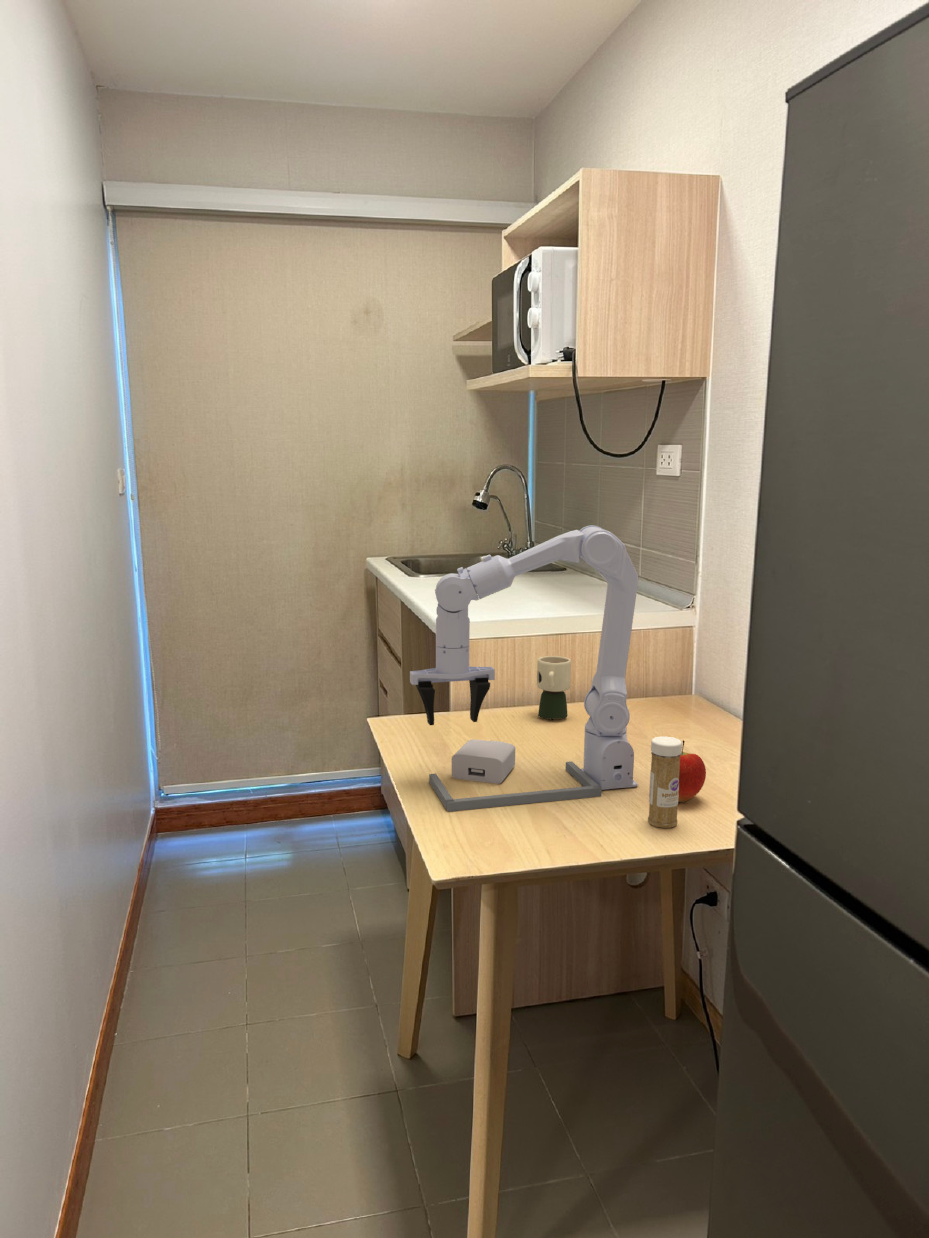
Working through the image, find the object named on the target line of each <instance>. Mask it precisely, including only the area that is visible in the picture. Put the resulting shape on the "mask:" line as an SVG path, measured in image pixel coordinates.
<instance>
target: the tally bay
mask: <svg viewBox="0 0 929 1238" xmlns="http://www.w3.org/2000/svg"><path fill="white" fill-rule="evenodd" d="M581 769H582V768H580V767H579V766H578V765H577V764H575V762H574V761H566V762H565V771H566V772H567V773H568V774H570V776H572V777H573V779H575V780H576V781H577V782H578V783H579V784H580V785H581V786H576V787H565V788H557V789H556V788H555V789H547V790H546V789H545V790H533V791H524V792H514V793H503V794H491V795H483V796H472V797H471V796H470V797H464V798H463V797H462V798H453V797H452V795H451V794H450V793H449V791H448V789H447V788H446V787H445V785H444V783H443V781H442V780H441V778H440V777H439V776H438V774H437V773H436V772H435V773H428V781H429V785H430V786H431V788H432V789H433V791H434V792H435V794H436V795H437V797H438V799H439V800H440V803H442V805H443V807H444V808H445V810H446V811H447V812H457V811H468V810H477V809H486V808H489V809H490V808H496V807H505V806H507V807H508V806H518V805H519V806H520V805H527V804H529V805H530V804H536V803H538V804H539V803H547V802H556V801H557V802H558V801H566V800H569V801H570V800H577V799H588V798H595V797H597V798H598V797H602V791H603V790H602V788H601V787H600V786H599V785H598V784H597V783H596V782H595V781H593V780H592V779H591V778H590V777H589V776H588V775H587V774H586V773H584V772H583V771H582V770H581Z"/></svg>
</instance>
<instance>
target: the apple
mask: <svg viewBox="0 0 929 1238" xmlns="http://www.w3.org/2000/svg"><path fill="white" fill-rule="evenodd" d="M684 745H685V740H684V739H683V740H682V752H681V754H680V767H679V768H680V769H679V797H678V803H681V802H682V803H683V802H686V801H689V800H691V799H693V798H694V797H696V796H697V795H698V794H699V793H700V791H701V790H702V788H703V786H704V785H705V781H706V777H707V776H706V775H707V769H706V765H705V763H704V760H703V759H702V758H701V756H699V755H698V754H696V753H691V752H690V753H689V752H687V751H684Z"/></svg>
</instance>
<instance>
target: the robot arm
mask: <svg viewBox="0 0 929 1238" xmlns="http://www.w3.org/2000/svg"><path fill="white" fill-rule="evenodd" d="M580 559H581V561H584V562H585V563H586V564H588V565H589V566H590V567H592V568H593V569H594V570H596V572H597V573H598V574H599V575H600V576H601V577H602V578H603V579H604V580H605V582H606V583H607V588H606V595H605V602H604V603H605V604H604V610H603V618H602V625H601V634H600V641H599V647H598V648H599V649H598V657H597V664H596V665H597V666H596V672H595V674H594V675H593V677H592V679H591V686H590V689H589V691H588V692H587V693H586V695H585V697H584V701H583V703H584V704H583V706H584V710H585V712H586V713H587V715H588V716H589V718H588V720H587V722H586V723H585V725H584V743H583V745H584V747H583V768H580V769H581V770H582V771H583V772H584V773H586V774H587V775H588V776H589V777H590V778H591V779H592V780H593V781H595V782H596V783H597V784H598V785H599V786H600V787H601V788H602V791H604V790H614V789H623V788H624V789H625V788H633V787H634V788H635V787H638V785H639V784H638V782H637V781H635V780H634V767H635V766H634V763H635V750H634V748H633V746H632V744H631V743H630V742H629V741H628V737H627V736H628V735H627V734H628V733H627V730H628V727H627V726H628V725H629V721H630V710H629V708H628V705H627V699H628V692H627V683H626V673H627V666H628V660H629V652H630V643H631V636H632V630H633V624H634V622H633V621H634V615H635V614H634V613H635V609H636V608H635V606H636V599H637V592H638V584H639V573H638V572H637V570H636V568H635V566H634V564H633V561H632V560H631V557H630V555H629V553H628V551H627V548H626V545H625V543H624V542H622V541H621V540H620V538H619V537H617V536H616V535H615V534H614V533H613V532H611V531H609V530H606V529H604V528H603V527H600V526H598V525H595V524H594V525H586V526H583V527H582V528H581V529H580V530H579V529H575V530H571V531H567V532H565V533H562V534H559V535H557V536H555V537H552V538H550V539H548V540H546V541H544V542H541V543H540V544H537V545H535V546H533V547H530V548H528V549H527V550H524V551H522V552H520V553H518V554H515V555H514V556H511V557H509V558H506V557H503V556H502V555H498V554H497V555H494V556H492V555H491V554H488V555H484V556H483V561H480V562H477V563H476V564H473V565H470V566H468V567H465V568H464V567H463V566H461V567H458V568H457V569H456V570H457V573H454V572H452V573H451V572H450V573H448V574H444V575H443V576H442V577H440V579H439V580H437V583H436V585H435V586H436V587H435V589H434V592H435V599H436V601H437V606H436V615H437V616H436V619H435V667H434V668H433V667H432V668H426V669H422V670H412V671H411V670H410V671H409V683H410V684H411V685H412V686H415V687H416V689H417V692H418V693H419V695H420V698H421V701H422V703H423V707H424V711H425V716H426V721H427V724H428V725H429V726H434V725H435V710H434V708H435V706H434V705H435V694H436V689H434V685H433V683H447V682H449V683H450V682H464V681H465V682H467V681H468V682H469V683H468V684H469V690H470V691H469V692H470V695H469V696H470V704H469V705H470V708H469V718H470V721H472V723H478V719H479V714H480V710H481V707H482V704H483V702H484V700H485V697H486V696H487V695H488V692H489V691H490V688H491V682H490V681H495V679H496V678H495V675H496V670H495V668H494V667H493V666H470V634H471V633H470V626H471V625H470V618H469V605H470V603H471V602H472V601H478V600H482V599H483V598H487V597H488V596H491V595H494V594H496V593H499V592H501V591H503V590H506V589H508V588H510V587H511V586H512V584H513V582H514V580H515V578H516V577H517V576H519V575H523V574H525V573H527V572H531V571H533V570H536V569H539V568H542V567H544V566H546V565H549V564H552V563H555V562H557V561H566V562H571V563H577V564H579V563H580Z"/></svg>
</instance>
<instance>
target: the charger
mask: <svg viewBox="0 0 929 1238" xmlns="http://www.w3.org/2000/svg"><path fill="white" fill-rule="evenodd" d="M515 766H516V746H515V745H514V744H512V743H509V742H505V741H501V740H499V741H498V740H483V739H474V738H473V739H469V740H467V742H465V743H464V744H463V745H462V746H461V747H460V748H459V749H458V750H457V751H456V752H455V753H454V754H453V755H452V756H451V776H452V778H453V779H458V780H465V781H473V782H479V783H480V782H481V783H488V784H489V783H490V784H498V785H499V784H501V783H502V782H504V780H505V779H506V778H507V776H508V775H509V774H510V772H511V771H512V770H513V768H514V767H515Z"/></svg>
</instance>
